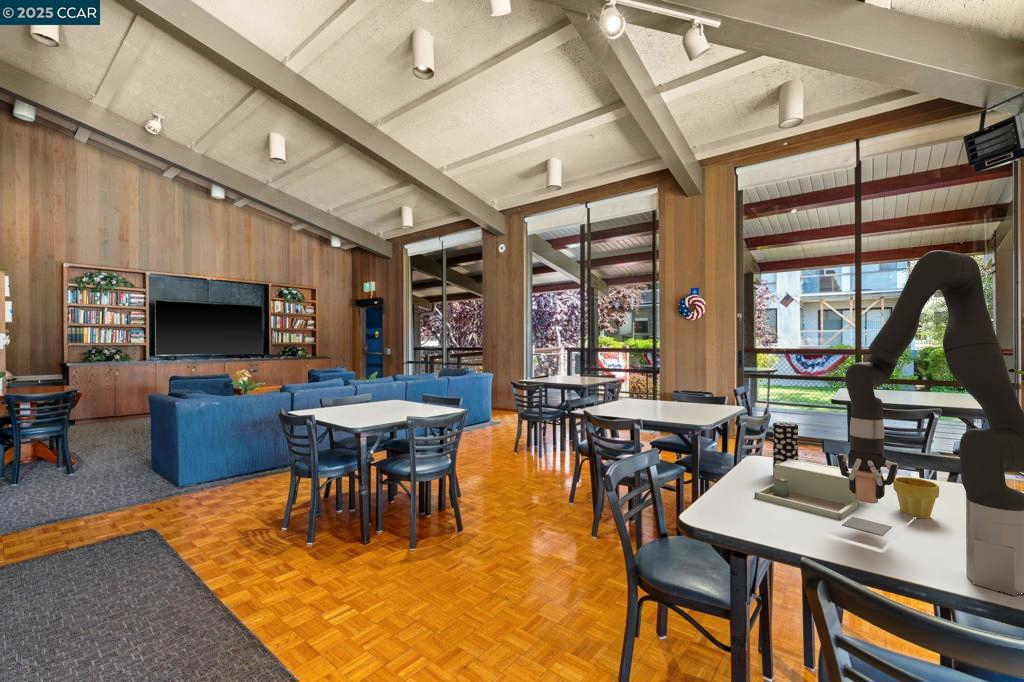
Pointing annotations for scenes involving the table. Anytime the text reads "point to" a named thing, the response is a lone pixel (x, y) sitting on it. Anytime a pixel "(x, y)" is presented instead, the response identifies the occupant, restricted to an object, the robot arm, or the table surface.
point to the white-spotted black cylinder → (784, 442)
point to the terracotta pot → (865, 486)
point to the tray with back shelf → (813, 489)
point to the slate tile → (867, 526)
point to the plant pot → (916, 495)
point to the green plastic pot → (781, 487)
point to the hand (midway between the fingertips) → (866, 495)
